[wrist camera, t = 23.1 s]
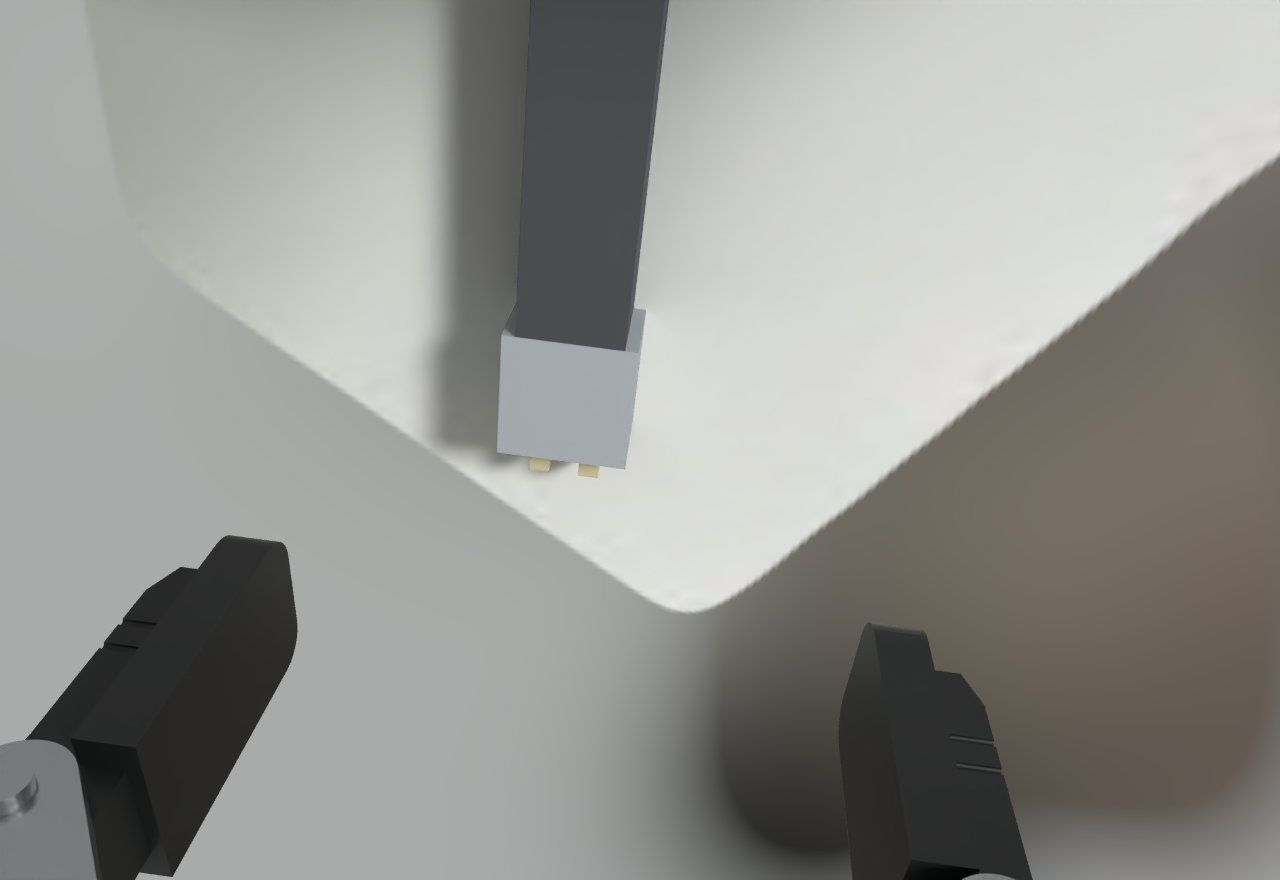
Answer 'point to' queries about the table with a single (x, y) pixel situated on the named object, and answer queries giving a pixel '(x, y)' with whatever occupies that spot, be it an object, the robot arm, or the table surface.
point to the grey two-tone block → (581, 232)
